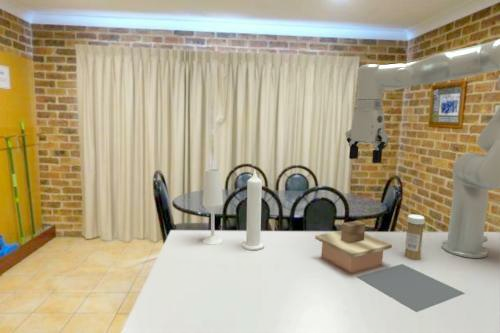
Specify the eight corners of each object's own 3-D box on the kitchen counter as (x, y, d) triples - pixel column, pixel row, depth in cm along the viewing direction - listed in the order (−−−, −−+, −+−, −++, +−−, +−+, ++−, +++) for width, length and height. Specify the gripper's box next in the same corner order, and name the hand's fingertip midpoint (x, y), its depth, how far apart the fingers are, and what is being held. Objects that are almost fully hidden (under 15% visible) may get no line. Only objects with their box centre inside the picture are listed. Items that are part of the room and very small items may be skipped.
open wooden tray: (351, 251, 110) (352, 233, 109) (381, 267, 99) (383, 247, 98) (321, 258, 104) (322, 239, 103) (350, 275, 93) (351, 254, 93)
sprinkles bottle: (423, 259, 105) (428, 216, 102) (414, 263, 102) (419, 219, 100) (409, 254, 108) (413, 212, 106) (400, 257, 106) (404, 215, 104)
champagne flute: (226, 240, 117) (227, 170, 113) (212, 246, 112) (212, 172, 108) (213, 235, 121) (213, 167, 117) (198, 240, 116) (198, 170, 112)
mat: (401, 265, 100) (402, 263, 100) (464, 295, 84) (465, 293, 84) (355, 278, 92) (355, 276, 92) (416, 314, 76) (416, 312, 76)
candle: (238, 248, 110) (239, 170, 106) (247, 240, 117) (248, 167, 113) (259, 252, 108) (261, 172, 104) (267, 244, 114) (269, 169, 110)
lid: (352, 231, 111) (353, 213, 110) (391, 248, 98) (393, 227, 97) (315, 238, 103) (316, 219, 103) (351, 257, 90) (353, 235, 90)
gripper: (400, 106, 102) (395, 164, 105) (357, 106, 117) (353, 156, 120) (382, 105, 98) (377, 165, 101) (340, 105, 113) (336, 157, 116)
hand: (364, 160), depth 110 cm, fingers open, 9 cm apart
